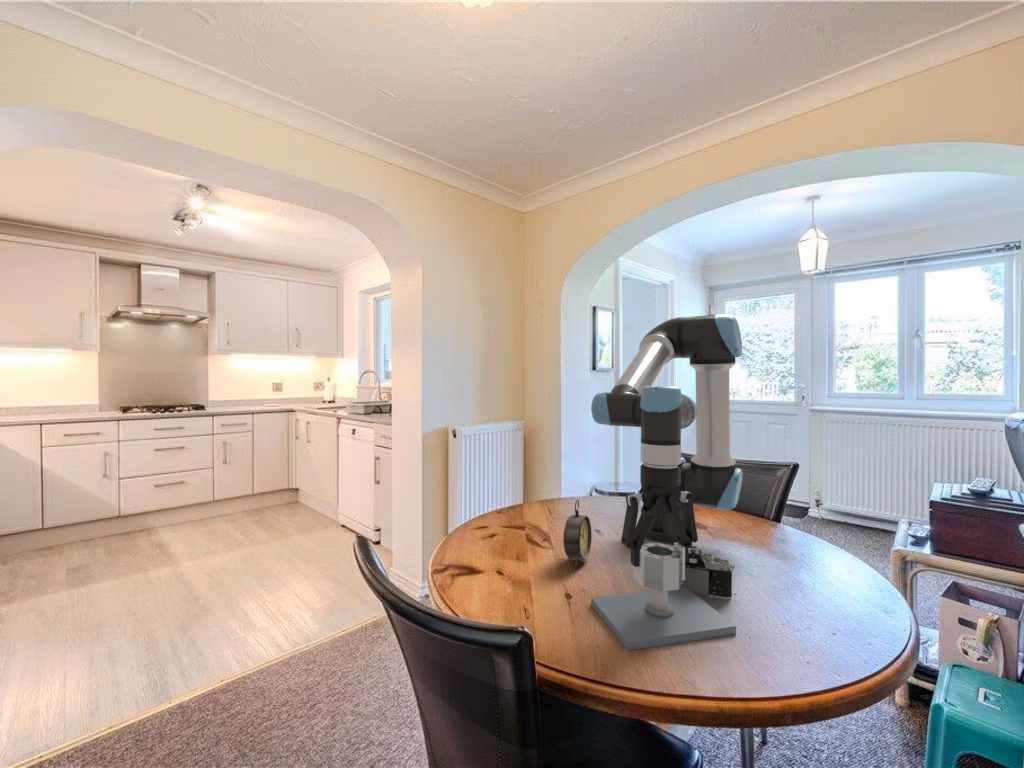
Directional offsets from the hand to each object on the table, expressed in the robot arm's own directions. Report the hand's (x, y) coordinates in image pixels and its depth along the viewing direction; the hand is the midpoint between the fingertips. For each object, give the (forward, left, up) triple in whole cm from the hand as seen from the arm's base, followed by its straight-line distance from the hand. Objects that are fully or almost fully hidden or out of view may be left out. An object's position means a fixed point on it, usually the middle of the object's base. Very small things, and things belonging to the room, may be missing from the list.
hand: (659, 579), depth 88 cm
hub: (0, 0, 0) cm, 0 cm away
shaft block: (0, 0, -8) cm, 8 cm away
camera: (-15, -10, -8) cm, 20 cm away
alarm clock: (+6, -29, -8) cm, 31 cm away
